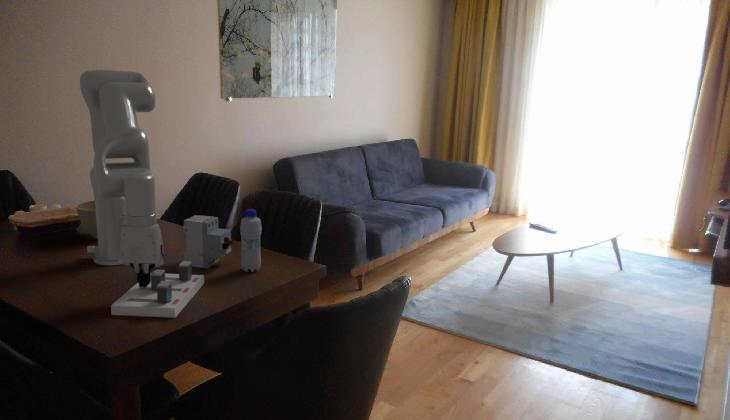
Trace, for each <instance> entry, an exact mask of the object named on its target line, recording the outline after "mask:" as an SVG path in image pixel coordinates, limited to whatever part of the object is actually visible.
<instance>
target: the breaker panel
mask: <svg viewBox="0 0 730 420" xmlns="http://www.w3.org/2000/svg"><path fill="white" fill-rule="evenodd" d="M165 281H171V283H172V298H171V299H170V300H169V301H168V302H167V303H158V302H157V290H151V282H150V283H149V285H148V286H146V287H139V283H138V282H137V283H136V284H135V285H133V286H132V287H131V288H130V289H128V290H127V291H126V292H125V293H124V294H123V295H121V296H120V297H119V298H118V299H117V300H116V301H114V302H113V303H112V304H110V310H111V316H128V317H129V316H130V317H131V316H132V317H150V318H151V317H152V318H153V317H155V318H177V316H178V315H179V314H180V312H182V311H183V309H184V308H185V307H186V306H187V305H188V303H189V302H190V301H191V300H192V299H193V297H194V296H195V294H197V292H198V291H200V289H201V288H202V287H203V285H204V284H205V274H204V275H203V274H192V277H191V278H190V279H189V280H188V281H187V280H179V273H165Z"/></svg>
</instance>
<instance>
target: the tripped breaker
mask: <svg viewBox="0 0 730 420" xmlns="http://www.w3.org/2000/svg"><path fill="white" fill-rule="evenodd" d="M150 273H151V290H157V285H158V284H159V283H160V282H161V281H165V274H166V269H155V270H154V271H152V272H150Z"/></svg>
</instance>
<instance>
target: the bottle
mask: <svg viewBox="0 0 730 420" xmlns="http://www.w3.org/2000/svg"><path fill="white" fill-rule="evenodd" d="M244 213H245V217H242V218H241V219H240V226H239V231H240V233H239V234H240V235H241V237H240V239H241V240H240V241H241V243H240V244H241V245H240V246H241V247H240V249H241V255H240V268H241V270H242V271H243V272H245V273H249V271H250V273H254V272H259V270H260V269H261V265H262V257H261V255H262V254H261V235H262V231H263V230H262V229H263V227H262V221H261V218H259V217H257V211H256V209H253V208H248V209H246V210H245V212H244Z"/></svg>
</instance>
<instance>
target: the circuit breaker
mask: <svg viewBox="0 0 730 420" xmlns="http://www.w3.org/2000/svg"><path fill="white" fill-rule="evenodd" d="M182 227H183V234H185V237H186V238H185V239H186V240H185V241H186V250H185V251H183V253H184V255H183V256H184V258H183V259H184V260H183V261H192V267H196V268H204V269H209V268H210V267H212V266H213V265H215V264H216V263H218V262H220V259H222V258H223V257H225V256H226V255H228V254H229V253H231V252H232V245H233V244H234V240H232V230H231V229H227V228H219V217H218V216H210V215H209V216H207V215H197V214H196V215H193V216H191V217H189V218H186V219H184V220H183V226H182Z"/></svg>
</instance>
